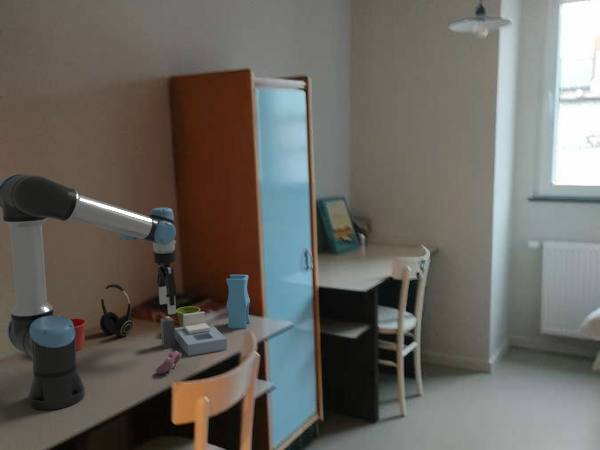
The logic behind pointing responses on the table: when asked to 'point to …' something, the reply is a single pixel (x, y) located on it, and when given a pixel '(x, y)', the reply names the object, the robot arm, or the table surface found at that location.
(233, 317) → the vase
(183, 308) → the plant pot
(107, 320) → the headphones
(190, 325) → the cream stepped block
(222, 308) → the table surface
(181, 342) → the socket
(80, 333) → the flower pot
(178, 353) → the pink oblong lump
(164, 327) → the plug
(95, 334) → the table surface
